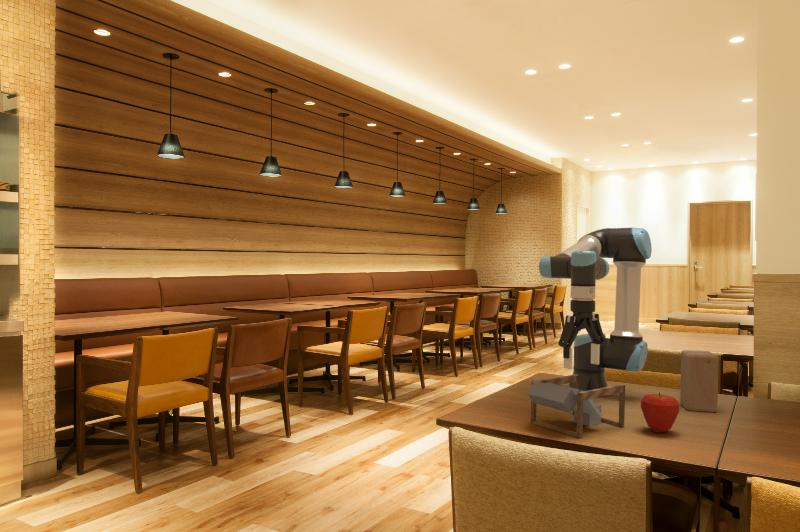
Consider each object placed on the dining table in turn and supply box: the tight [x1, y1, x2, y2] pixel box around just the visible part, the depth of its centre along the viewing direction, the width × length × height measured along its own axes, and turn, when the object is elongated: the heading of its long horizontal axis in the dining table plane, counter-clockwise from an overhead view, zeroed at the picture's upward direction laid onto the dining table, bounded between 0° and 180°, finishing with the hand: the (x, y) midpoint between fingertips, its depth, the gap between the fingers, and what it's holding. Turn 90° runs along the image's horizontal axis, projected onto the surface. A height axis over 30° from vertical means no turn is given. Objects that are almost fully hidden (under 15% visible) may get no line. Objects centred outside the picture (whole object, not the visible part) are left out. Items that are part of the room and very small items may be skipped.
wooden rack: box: [530, 374, 626, 439], centre depth 184 cm, size 22×19×13 cm
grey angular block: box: [526, 380, 603, 417], centre depth 180 cm, size 17×16×9 cm
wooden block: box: [679, 349, 720, 413], centre depth 207 cm, size 10×10×20 cm
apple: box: [640, 391, 680, 433], centre depth 178 cm, size 11×11×12 cm
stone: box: [573, 402, 602, 427], centre depth 187 cm, size 6×6×7 cm
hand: (581, 366), depth 185 cm, fingers open, 13 cm apart
